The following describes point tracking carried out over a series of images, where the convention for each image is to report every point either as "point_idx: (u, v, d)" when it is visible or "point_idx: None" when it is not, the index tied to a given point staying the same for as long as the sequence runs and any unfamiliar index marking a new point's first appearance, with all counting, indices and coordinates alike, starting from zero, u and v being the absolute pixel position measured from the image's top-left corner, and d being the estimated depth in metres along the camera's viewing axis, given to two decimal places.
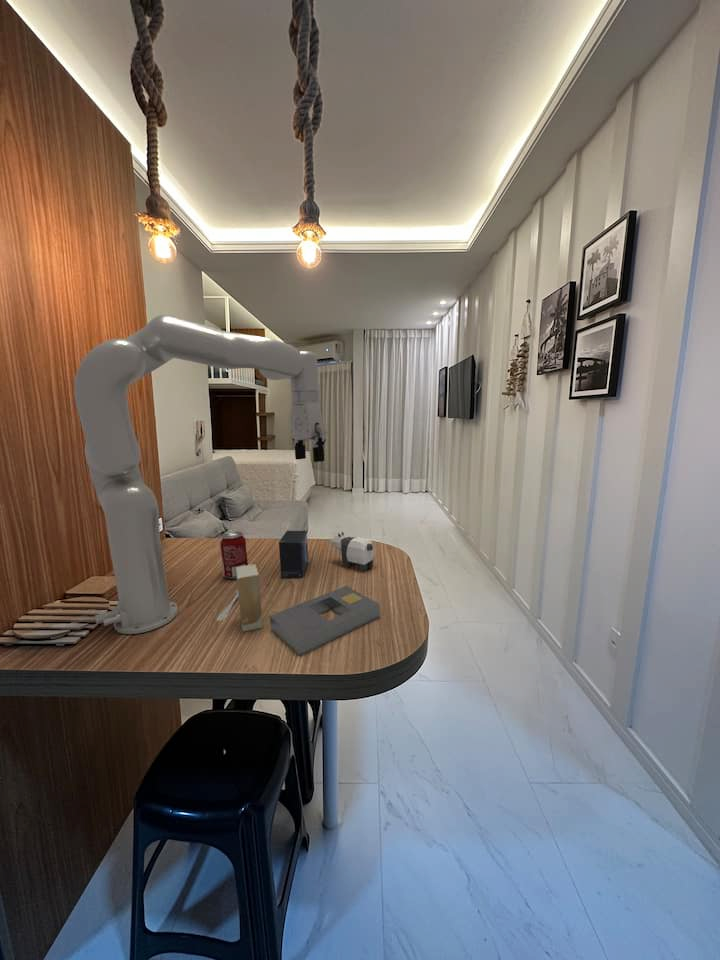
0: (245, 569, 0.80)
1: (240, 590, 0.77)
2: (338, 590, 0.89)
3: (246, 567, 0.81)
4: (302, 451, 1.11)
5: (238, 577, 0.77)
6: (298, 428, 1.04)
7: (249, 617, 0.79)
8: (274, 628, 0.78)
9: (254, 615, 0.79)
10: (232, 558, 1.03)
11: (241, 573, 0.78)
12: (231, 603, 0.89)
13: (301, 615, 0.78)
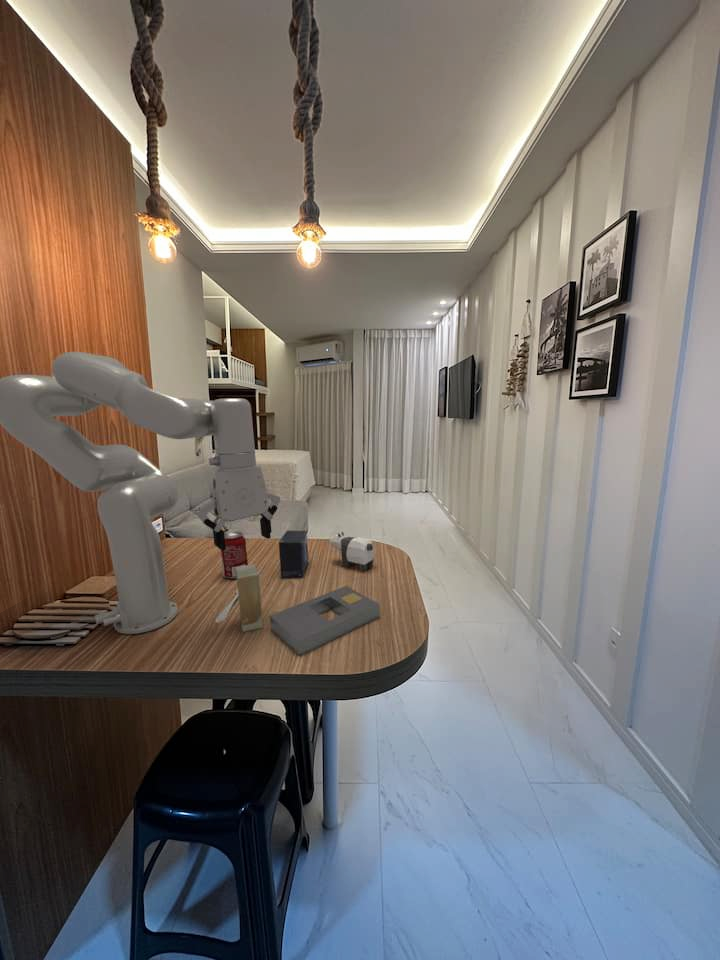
0: (245, 569, 0.80)
1: (240, 590, 0.77)
2: (338, 590, 0.89)
3: (246, 567, 0.81)
4: None
5: (238, 577, 0.77)
6: (244, 502, 0.75)
7: (249, 617, 0.79)
8: (274, 628, 0.78)
9: (254, 615, 0.79)
10: (232, 558, 1.03)
11: (241, 573, 0.78)
12: (231, 603, 0.89)
13: (301, 615, 0.78)
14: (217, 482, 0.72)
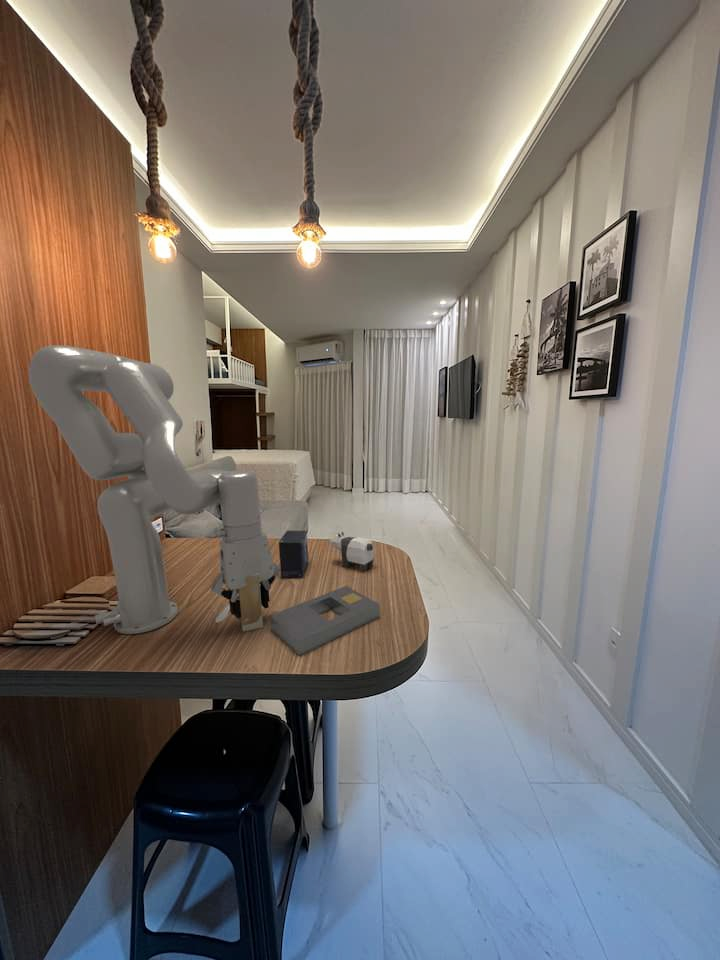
0: None
1: (241, 590, 0.77)
2: (338, 590, 0.89)
3: None
4: None
5: None
6: (250, 571, 0.77)
7: (249, 617, 0.79)
8: (274, 628, 0.78)
9: (254, 615, 0.79)
10: None
11: None
12: None
13: (301, 615, 0.78)
14: (224, 553, 0.75)
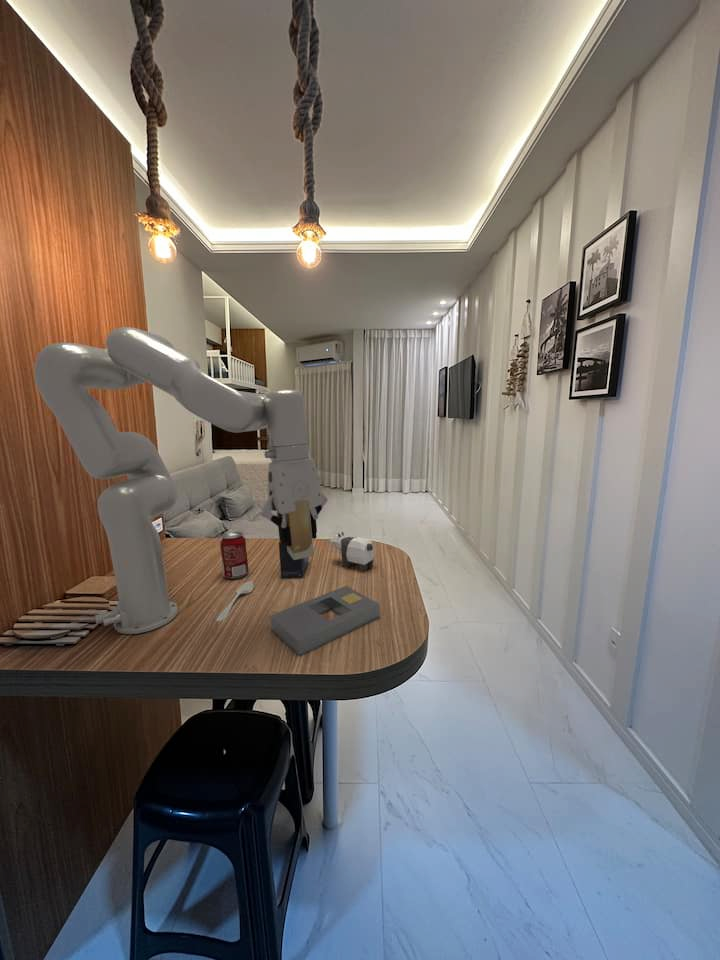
0: None
1: (291, 515, 0.74)
2: (338, 590, 0.89)
3: None
4: None
5: None
6: (299, 495, 0.74)
7: (300, 545, 0.75)
8: (274, 628, 0.78)
9: (305, 543, 0.76)
10: (232, 558, 1.03)
11: None
12: (231, 603, 0.89)
13: (301, 615, 0.78)
14: (274, 475, 0.72)
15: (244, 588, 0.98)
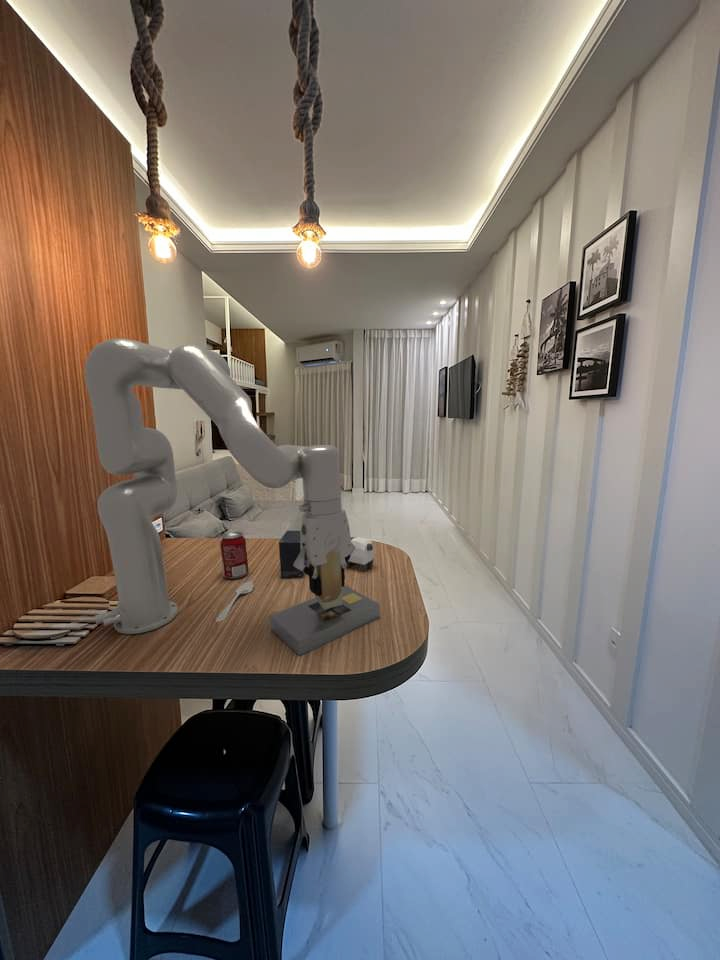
0: None
1: (323, 566, 0.76)
2: None
3: None
4: None
5: None
6: (331, 547, 0.76)
7: (330, 595, 0.77)
8: (274, 628, 0.78)
9: (335, 593, 0.78)
10: (232, 558, 1.03)
11: None
12: (231, 603, 0.89)
13: (301, 615, 0.78)
14: (308, 529, 0.73)
15: (244, 588, 0.98)
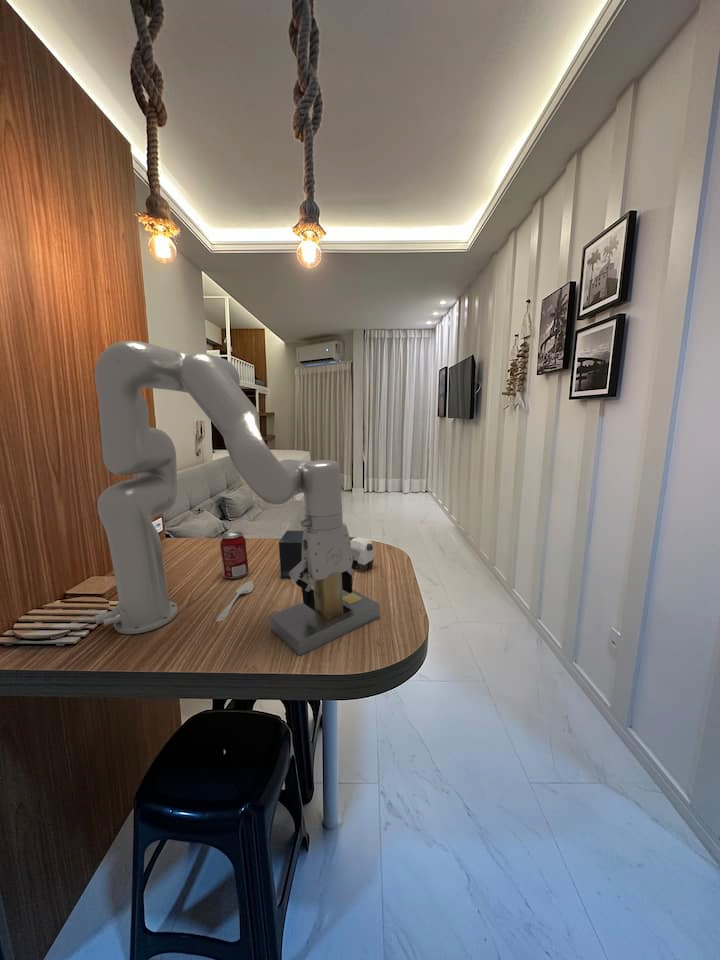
0: None
1: (325, 588, 0.76)
2: None
3: None
4: None
5: None
6: (332, 561, 0.77)
7: (332, 615, 0.78)
8: (274, 628, 0.78)
9: (336, 613, 0.79)
10: (232, 558, 1.03)
11: None
12: (231, 603, 0.89)
13: (301, 615, 0.78)
14: (309, 544, 0.74)
15: (244, 588, 0.98)
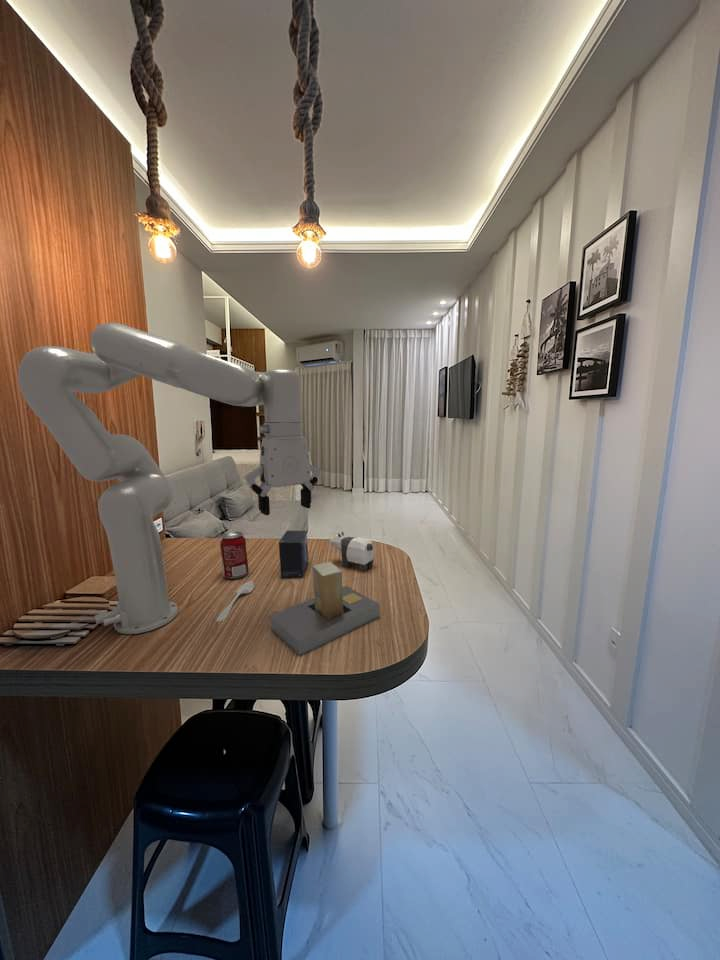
0: (324, 567, 0.80)
1: (325, 588, 0.76)
2: None
3: (324, 565, 0.81)
4: None
5: (323, 575, 0.76)
6: (289, 470, 0.78)
7: (332, 615, 0.78)
8: (274, 628, 0.78)
9: (336, 613, 0.79)
10: (232, 558, 1.03)
11: (323, 571, 0.78)
12: (231, 603, 0.90)
13: (301, 615, 0.78)
14: (266, 449, 0.76)
15: (244, 588, 0.98)
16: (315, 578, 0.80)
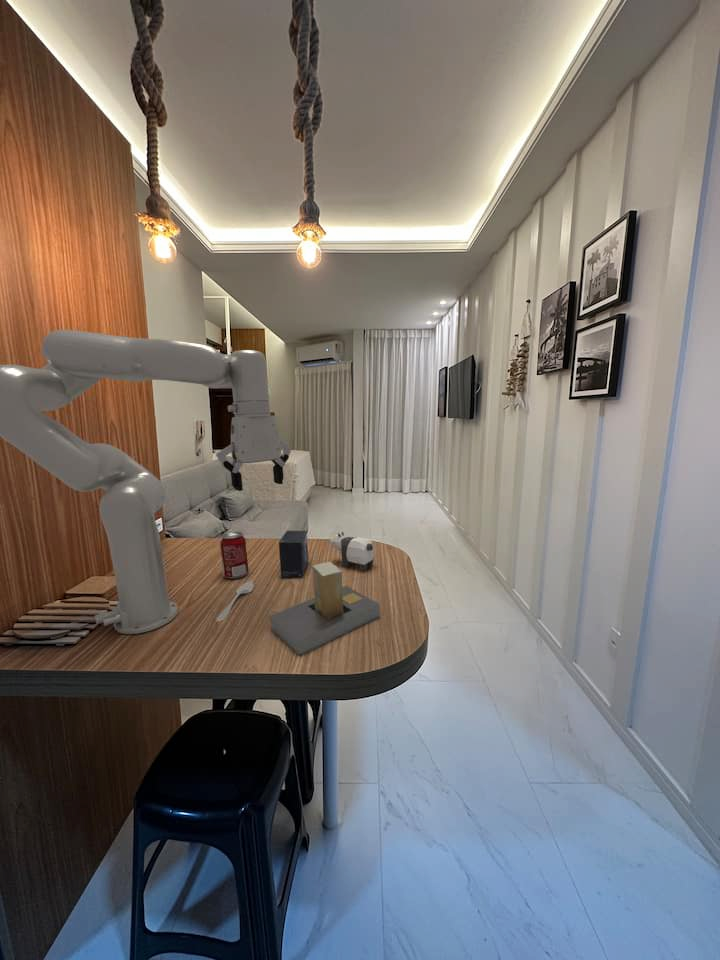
0: (324, 567, 0.80)
1: (325, 588, 0.76)
2: None
3: (324, 565, 0.81)
4: None
5: (323, 575, 0.76)
6: (259, 447, 0.82)
7: (332, 615, 0.78)
8: (274, 628, 0.78)
9: (336, 613, 0.79)
10: (232, 558, 1.03)
11: (323, 571, 0.78)
12: (231, 603, 0.90)
13: (301, 615, 0.78)
14: (235, 427, 0.79)
15: (244, 588, 0.98)
16: (315, 578, 0.80)
